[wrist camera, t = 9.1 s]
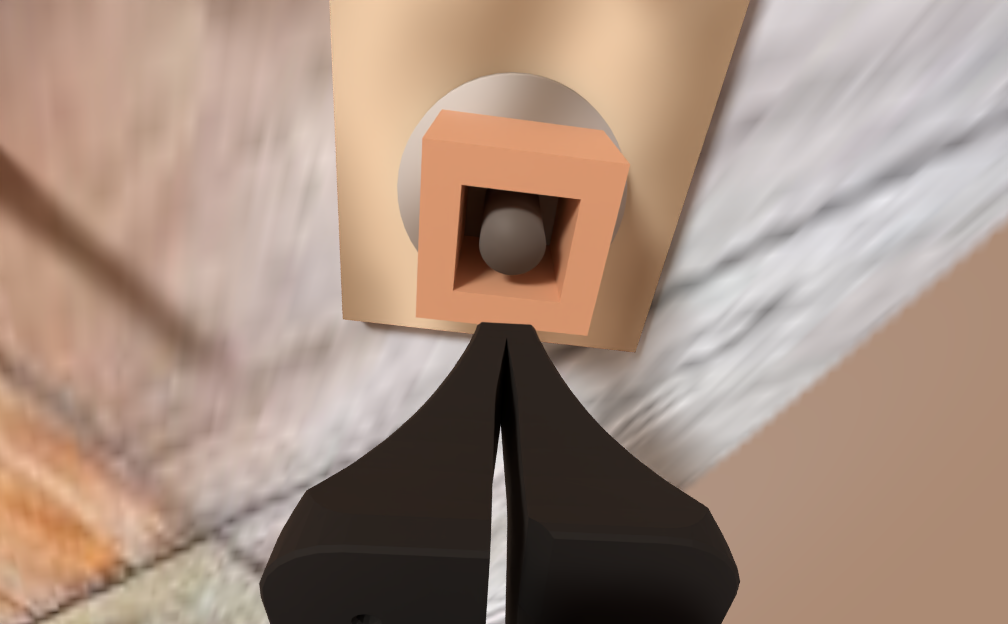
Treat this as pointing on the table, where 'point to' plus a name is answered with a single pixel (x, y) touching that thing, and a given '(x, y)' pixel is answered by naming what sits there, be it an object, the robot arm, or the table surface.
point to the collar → (522, 168)
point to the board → (526, 96)
